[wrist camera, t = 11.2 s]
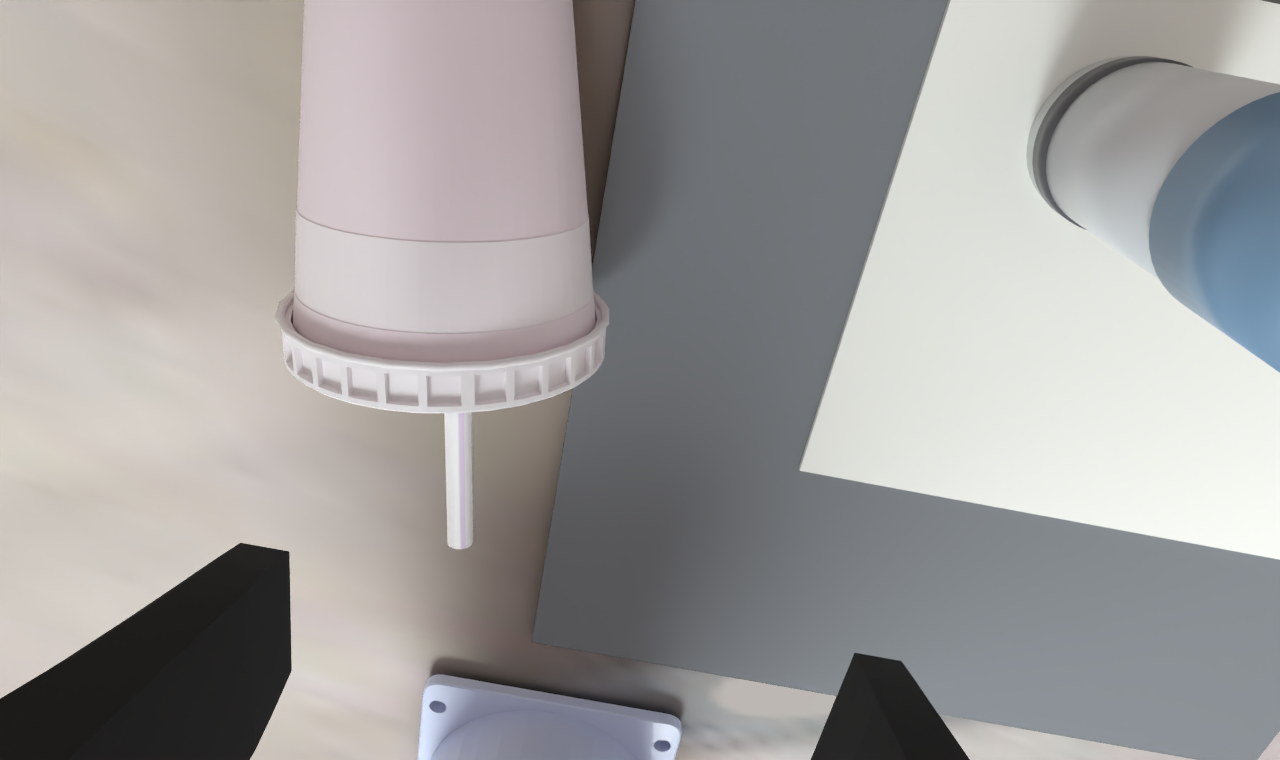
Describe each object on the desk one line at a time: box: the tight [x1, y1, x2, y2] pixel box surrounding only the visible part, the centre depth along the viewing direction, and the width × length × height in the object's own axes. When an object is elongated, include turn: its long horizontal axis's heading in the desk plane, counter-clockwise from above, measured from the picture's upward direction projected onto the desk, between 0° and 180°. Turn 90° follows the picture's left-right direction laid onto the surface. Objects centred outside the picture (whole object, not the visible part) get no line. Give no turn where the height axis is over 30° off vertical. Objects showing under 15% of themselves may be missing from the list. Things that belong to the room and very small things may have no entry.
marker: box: [1026, 56, 1280, 373], centre depth 13 cm, size 3×3×8 cm
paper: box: [799, 0, 1280, 560], centre depth 18 cm, size 12×16×1 cm
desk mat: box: [532, 0, 1280, 760], centre depth 19 cm, size 22×22×1 cm
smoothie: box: [275, 0, 609, 549], centre depth 15 cm, size 6×6×14 cm
